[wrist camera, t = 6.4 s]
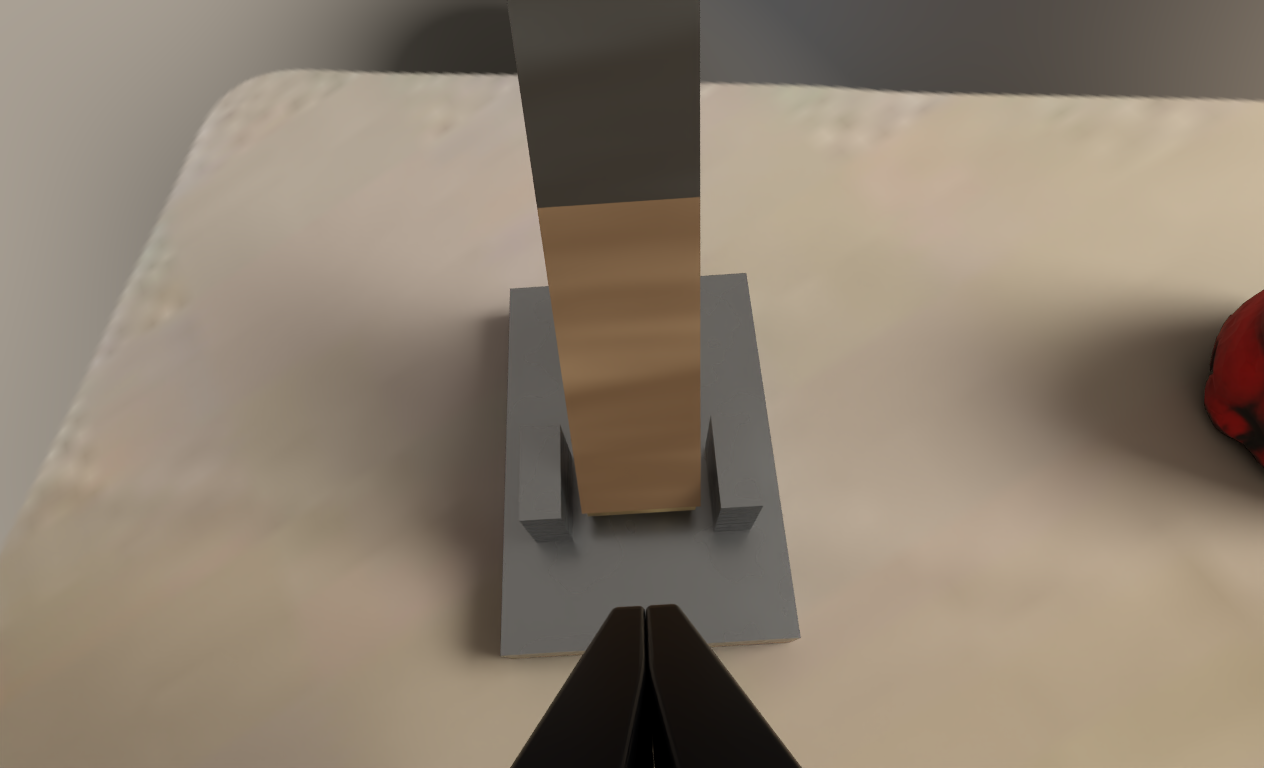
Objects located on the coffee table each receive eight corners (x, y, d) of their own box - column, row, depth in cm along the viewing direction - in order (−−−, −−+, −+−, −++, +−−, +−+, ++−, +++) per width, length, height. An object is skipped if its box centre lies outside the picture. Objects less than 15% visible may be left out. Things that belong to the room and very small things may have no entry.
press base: (790, 642, 18) (837, 622, 14) (512, 658, 18) (458, 645, 14) (741, 298, 23) (762, 190, 18) (518, 312, 23) (481, 209, 18)
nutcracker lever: (700, 528, 17) (699, -149, 10) (584, 535, 18) (487, -133, 10) (692, 475, 19) (685, -141, 11) (587, 481, 19) (505, -127, 11)
